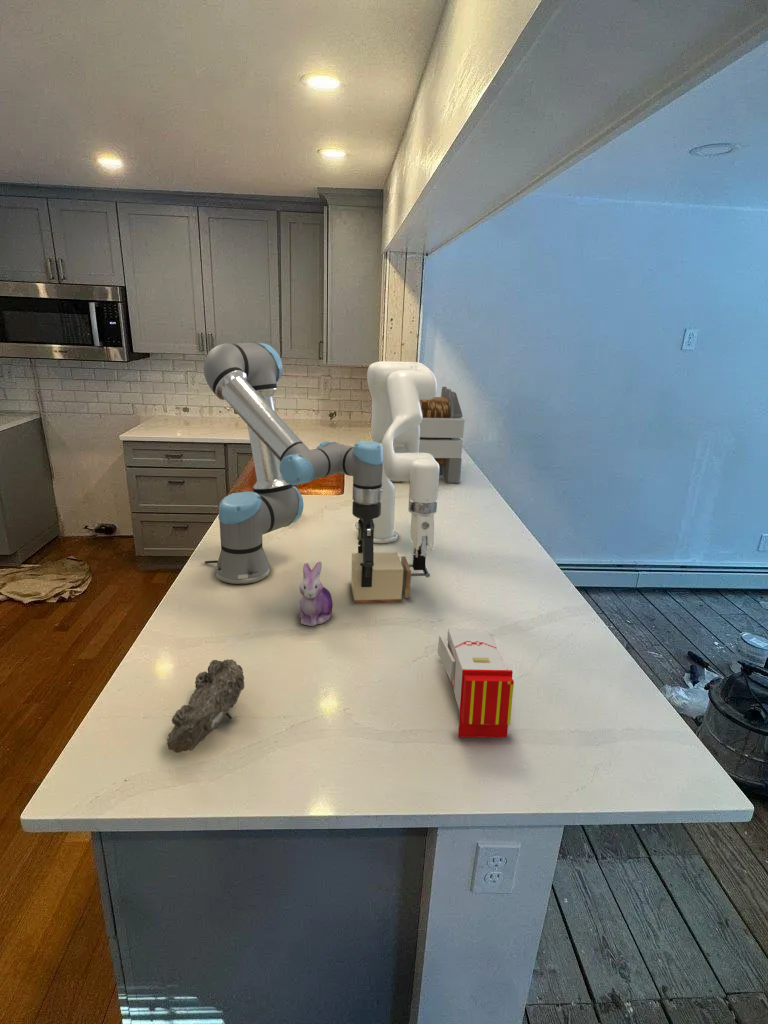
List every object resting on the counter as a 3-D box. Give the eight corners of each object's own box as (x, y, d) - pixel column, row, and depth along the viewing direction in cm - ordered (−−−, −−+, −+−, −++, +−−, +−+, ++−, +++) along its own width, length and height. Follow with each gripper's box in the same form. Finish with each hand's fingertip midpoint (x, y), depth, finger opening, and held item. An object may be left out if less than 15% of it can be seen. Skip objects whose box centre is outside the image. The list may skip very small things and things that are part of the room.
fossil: (192, 660, 117) (244, 628, 112) (224, 691, 120) (276, 661, 115) (142, 746, 98) (202, 712, 93) (182, 779, 101) (242, 748, 96)
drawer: (422, 581, 164) (424, 555, 161) (429, 597, 155) (431, 570, 152) (363, 582, 162) (364, 556, 159) (366, 598, 153) (367, 571, 150)
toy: (488, 613, 130) (523, 677, 101) (484, 667, 133) (517, 744, 104) (435, 612, 130) (455, 676, 101) (432, 666, 133) (451, 743, 103)
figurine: (305, 631, 137) (304, 575, 132) (291, 611, 146) (290, 558, 141) (340, 623, 142) (342, 569, 137) (325, 604, 150) (326, 552, 145)
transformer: (382, 463, 289) (386, 382, 275) (445, 464, 293) (451, 384, 279) (390, 482, 257) (394, 392, 243) (460, 483, 261) (468, 394, 247)
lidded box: (395, 583, 164) (397, 552, 160) (401, 601, 154) (403, 569, 150) (351, 584, 162) (351, 552, 159) (354, 603, 152) (355, 569, 149)
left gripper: (387, 516, 138) (383, 596, 145) (376, 487, 160) (373, 558, 167) (356, 516, 137) (354, 597, 144) (349, 487, 159) (347, 559, 166)
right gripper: (442, 515, 144) (437, 580, 150) (430, 497, 158) (426, 558, 164) (413, 515, 143) (410, 581, 149) (404, 497, 157) (401, 558, 163)
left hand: (364, 576), depth 156 cm, fingers closed on lidded box, 11 cm apart
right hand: (418, 568), depth 156 cm, fingers closed
